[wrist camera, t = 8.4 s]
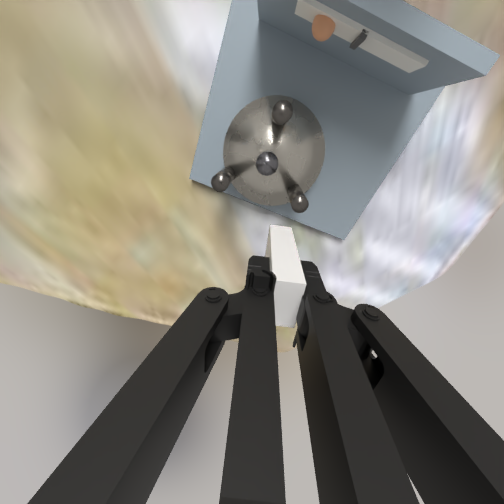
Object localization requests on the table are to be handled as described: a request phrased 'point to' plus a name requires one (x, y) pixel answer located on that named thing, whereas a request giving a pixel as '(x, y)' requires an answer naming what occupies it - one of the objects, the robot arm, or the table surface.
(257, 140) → the capstan
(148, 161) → the table surface
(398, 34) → the stand
